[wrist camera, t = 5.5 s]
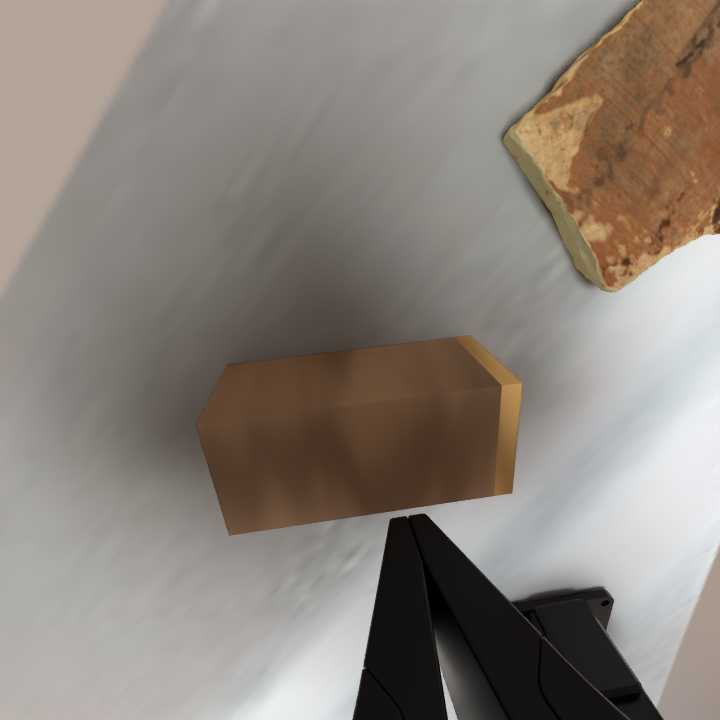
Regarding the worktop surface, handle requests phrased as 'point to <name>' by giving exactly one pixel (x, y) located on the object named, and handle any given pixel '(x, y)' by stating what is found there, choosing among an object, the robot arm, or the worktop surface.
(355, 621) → the worktop surface
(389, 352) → the walnut block
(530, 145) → the shard
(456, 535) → the worktop surface
